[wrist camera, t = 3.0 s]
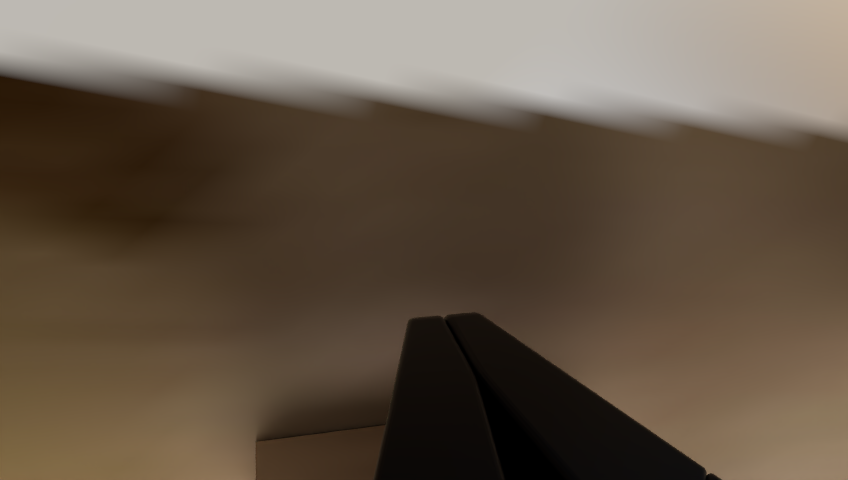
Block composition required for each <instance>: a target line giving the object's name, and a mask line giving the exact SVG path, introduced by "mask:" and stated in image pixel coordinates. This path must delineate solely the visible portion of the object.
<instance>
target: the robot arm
mask: <svg viewBox="0 0 848 480" xmlns="http://www.w3.org/2000/svg"><path fill="white" fill-rule="evenodd" d="M373 480H722V479H720V478H719V477H717V476H716V475H714V474H712V473H710V474H708V475H707V476H706V470H705V468H704V467H702V466H701V465H699V464H698V463H696V462H695V461H693V460H692V459H691V458H689V457H688V456H686V455H685V454H683V453H682V452H680V451H679V450H677V449H676V448H675V447H673V446H672V445H670V444H669V443H667V442H666V441H664V440H663V439H661V438H660V437H659V436H657V435H656V434H654V433H653V432H651V431H650V430H648V429H647V428H645V427H644V426H643V425H641V424H640V423H638V422H637V421H635V420H634V419H632V418H631V417H629V416H628V415H627V414H625V413H624V412H622V411H621V410H619V409H618V408H616V407H615V406H613V405H612V404H611V403H609V402H608V401H606V400H605V399H603V398H602V397H600V396H599V395H597V394H596V393H595V392H593V391H592V390H590V389H589V388H587V387H586V386H584V385H583V384H581V383H580V382H579V381H577V380H576V379H574V378H573V377H571V376H570V375H568V374H567V373H565V372H564V371H563V370H561V369H560V368H558V367H557V366H555V365H554V364H552V363H551V362H549V361H548V360H547V359H545V358H544V357H542V356H541V355H539V354H538V353H536V352H535V351H533V350H532V349H531V348H529V347H528V346H526V345H525V344H523V343H522V342H520V341H519V340H517V339H516V338H515V337H513V336H512V335H510V334H509V333H507V332H506V331H504V330H503V329H501V328H500V327H499V326H497V325H496V324H494V323H493V322H491V321H490V320H488V319H487V318H485V317H484V316H483V315H481V314H479V313H476V312H472V313H462V314H451V315H447V316H446V317H445V318H443V317H441V316H429V317H418V318H412V319H410V320H409V321H408V324H407V329H406V333H405V338H404V342H403V347H402V351H401V356H400V360H399V365H398V369H397V374H396V378H395V383H394V388H393V392H392V397H391V401H390V406H389V410H388V415H387V419H386V424H385V428H384V433H383V437H382V442H381V447H380V451H379V456H378V460H377V465H376V469H375V474H374V478H373Z"/></svg>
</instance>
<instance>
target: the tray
mask: <svg viewBox="0 0 848 480" xmlns="http://www.w3.org/2000/svg"><path fill="white" fill-rule="evenodd" d="M384 428H385V425H382V426H374V427H367V428H359V429H351V430H344V431H336V432H328V433H320V434H313V435H305V436H297V437H290V438H282V439H274V440H267V441H259V442H256V480H373V478H374V474H375V469H376V465H377V460H378V456H379V451H380V447H381V442H382V437H383V433H384Z"/></svg>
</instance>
